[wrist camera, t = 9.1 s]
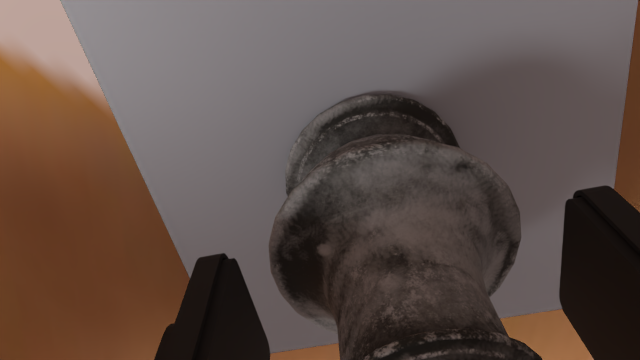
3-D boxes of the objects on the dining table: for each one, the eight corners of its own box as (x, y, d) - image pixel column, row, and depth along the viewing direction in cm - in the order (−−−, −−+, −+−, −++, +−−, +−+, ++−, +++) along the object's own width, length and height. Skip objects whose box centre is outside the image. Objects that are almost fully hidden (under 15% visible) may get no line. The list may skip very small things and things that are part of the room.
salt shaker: (505, 189, 14) (1069, 952, 4) (351, 281, 16) (453, 982, 5) (402, 37, 12) (1245, 1070, 1) (233, 165, 13) (8, 1059, 3)
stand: (242, 288, 21) (227, 359, 18) (114, -36, 14) (50, -21, 11) (549, 236, 20) (599, 303, 16) (568, -147, 13) (660, -171, 10)
